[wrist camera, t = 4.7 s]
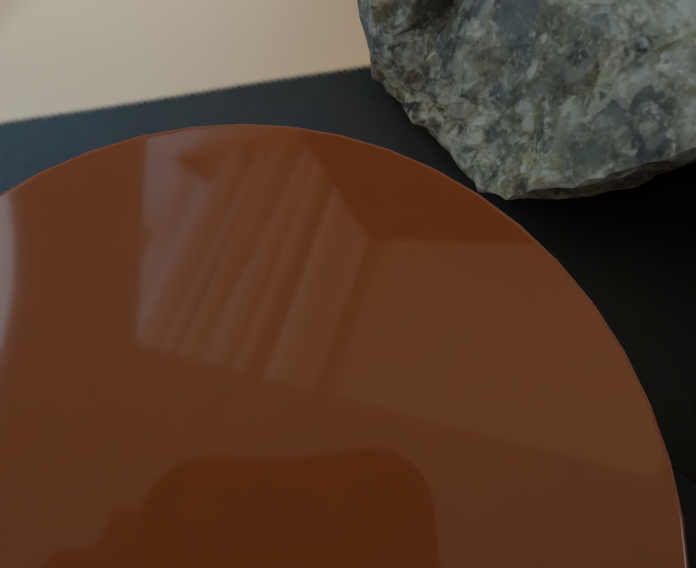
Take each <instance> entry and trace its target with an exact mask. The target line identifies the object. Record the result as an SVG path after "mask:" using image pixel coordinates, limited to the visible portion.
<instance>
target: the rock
mask: <svg viewBox="0 0 696 568" xmlns="http://www.w3.org/2000/svg"><path fill="white" fill-rule="evenodd" d="M357 2H358V8H359V15H360V20H361V23H362V26H363V29H364V32H365V35H366V39H367V43H368V47H369V51H370V61H371V77H372V80H373V81H374V83H382V84H383V85H384V87H385V90H386V92H387V93H389V94H391V95H392V97H394V98H395V99H396V100H398V101H399V102H400V103H401V104H402V106H403V108H404V110H405V112H406V113H407V115H408V117H409V119H410V120H411V122H412V124H416V125H420V126H423V127H425V128H427V129H429V133H430V134H431V135H432V136H433V137H434V138H435V139H436V140H437V141H438V143H439V144H440V145H441V146H443V147H444V148H445V149H446V150H447V151H449V152H450V154H451V156H452V157H453V159H454V161H455V162H456V164H457V165H458V167H459V168H460V170H462V171H463V172H464V173H465V174H466V175H467V176H468V177H469V178H470V179H471V180H472V181H473V182H474V183H475V185H476V188H477V191H478V192H480V193H490V194H497V195H500V196H501V197H502V198H504V199H505V200H512V199H524V198H534V199H564V198H579V197H592V196H595V195H598V194H601V193H604V192H607V191H611V190H621V189H629V188H635V187H637V186H639V185H641V184H643V183H645V182H647V181H649V180H651V179H652V178H653V177H655V176H656V175H658V174H661V173H664V172H667V171H670V170H674V169H677V168H680V167H683V166H686V165H689V164H692V163H695V162H696V0H357Z"/></svg>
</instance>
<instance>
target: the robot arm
mask: <svg viewBox="0 0 696 568" xmlns="http://www.w3.org/2000/svg"><path fill="white" fill-rule="evenodd" d="M672 470H673V474H674V479H675V483H676V487H677V492H678V496H679V501H680V505H681V509H682V514H683V518H684V525H685V534H686V544H687V553H688V563H689V568H696V481H695V480H693V479H692V478H690V477H689V476H687V475H686V474H684V473H683V472H682V471H680V470H679V469H677V468H676V467H674V466H673V465H672Z"/></svg>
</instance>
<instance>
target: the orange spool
mask: <svg viewBox="0 0 696 568" xmlns="http://www.w3.org/2000/svg"><path fill="white" fill-rule="evenodd" d="M0 568H689V563H688V553H687V544H686V534H685V525H684V518H683V514H682V509H681V505H680V501H679V496H678V492H677V487H676V483H675V479H674V474H673V470H672V465H671V461H670V458H669V455H668V452H667V449H666V446H665V444H664V441H663V438H662V435H661V432H660V429H659V427H658V424H657V421H656V418H655V415H654V413H653V410H652V407H651V404H650V402H649V400H648V398H647V396H646V394H645V392H644V390H643V388H642V386H641V383H640V381H639V379H638V377H637V375H636V373H635V371H634V369H633V367H632V365H631V363H630V361H629V359H628V357H627V355H626V353H625V351H624V349H623V348H622V346H621V345H620V343H619V342H618V340H617V339H616V337H615V336H614V334H613V332H612V331H611V329H610V328H609V326H608V325H607V323H606V322H605V320H604V319H603V317H602V316H601V314H600V312H599V311H598V309H597V308H596V306H595V305H594V303H593V302H592V301H591V300H590V298H589V297H588V296H587V295H586V294H585V292H584V291H583V290H582V289H581V288H580V286H579V285H578V284H577V283H576V282H575V280H574V279H573V278H572V277H571V276H570V274H569V273H568V272H567V271H566V270H565V268H564V267H563V266H562V265H561V264H560V262H559V261H558V260H557V259H556V258H555V257H553V256H552V255H551V254H550V253H549V252H548V251H547V250H546V249H545V248H544V247H543V246H542V245H541V244H540V243H539V242H538V241H537V240H536V239H534V238H533V237H532V236H531V235H530V234H529V233H528V232H527V231H526V230H525V229H524V228H523V227H522V226H521V225H520V224H518V223H517V222H516V221H514V220H513V219H511V218H510V217H509V216H507V215H506V214H505V213H503V212H502V211H501V210H499V209H498V208H497V207H495V206H494V205H493V204H491V203H490V202H489V201H487V200H486V199H485V198H483V197H482V196H481V195H479V194H478V193H476V192H474V191H473V190H471V189H469V188H467V187H466V186H464V185H462V184H460V183H459V182H457V181H455V180H453V179H452V178H450V177H448V176H446V175H445V174H443V173H441V172H439V171H438V170H436V169H434V168H432V167H429V166H427V165H425V164H422V163H420V162H418V161H415V160H413V159H411V158H408V157H406V156H404V155H401V154H399V153H397V152H394V151H392V150H390V149H387V148H384V147H380V146H377V145H373V144H370V143H366V142H363V141H360V140H356V139H353V138H349V137H346V136H342V135H339V134H333V133H327V132H321V131H315V130H309V129H303V128H297V127H291V126H273V125H253V124H230V125H215V126H200V127H188V128H182V129H177V130H171V131H166V132H160V133H155V134H149V135H143V136H138V137H135V138H132V139H128V140H125V141H122V142H118V143H115V144H112V145H108V146H105V147H102V148H98V149H95V150H92V151H89V152H86V153H84V154H82V155H79V156H77V157H75V158H72V159H70V160H68V161H65V162H63V163H60V164H58V165H56V166H53V167H51V168H49V169H46V170H44V171H42V172H39V173H38V174H36V175H34V176H32V177H31V178H29V179H27V180H25V181H24V182H22V183H20V184H18V185H16V186H15V187H13V188H11V189H9V190H8V191H6V192H4V193H2V194H0Z"/></svg>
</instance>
